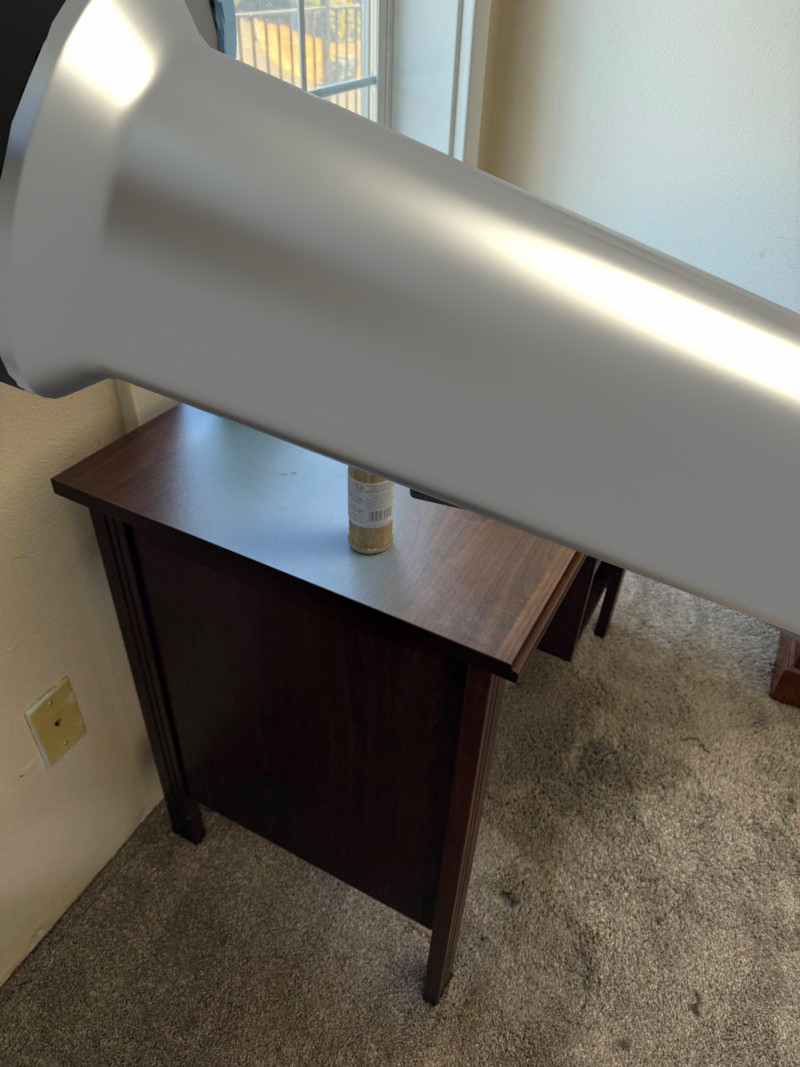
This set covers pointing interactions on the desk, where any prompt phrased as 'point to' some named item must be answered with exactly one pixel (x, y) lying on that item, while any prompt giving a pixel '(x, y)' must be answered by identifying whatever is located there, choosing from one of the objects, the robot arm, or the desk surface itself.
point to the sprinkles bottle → (369, 511)
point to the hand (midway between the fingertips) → (439, 387)
